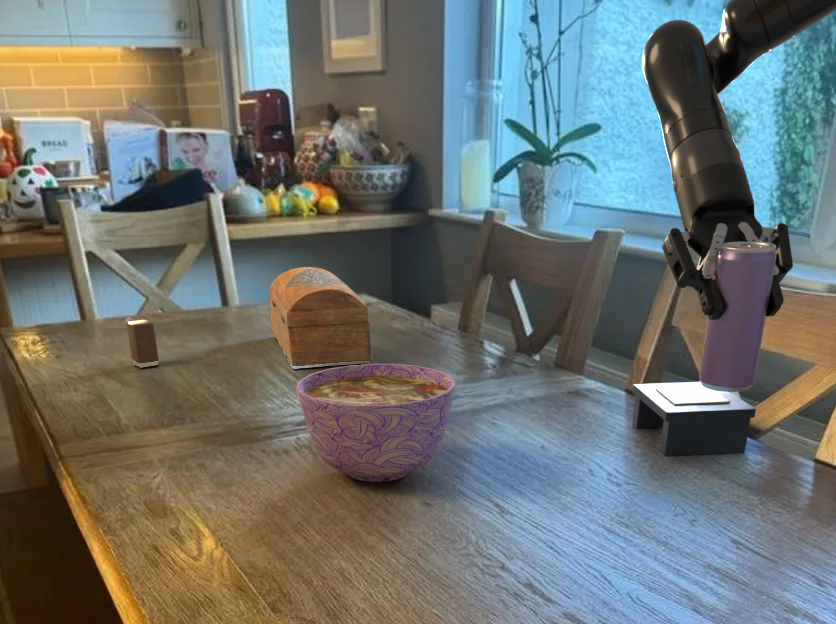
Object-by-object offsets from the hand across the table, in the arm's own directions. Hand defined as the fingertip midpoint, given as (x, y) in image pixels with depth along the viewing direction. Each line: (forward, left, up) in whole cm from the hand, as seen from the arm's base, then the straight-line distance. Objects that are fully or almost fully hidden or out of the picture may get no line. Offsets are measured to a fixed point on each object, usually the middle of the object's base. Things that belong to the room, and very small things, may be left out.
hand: (745, 313), depth 97 cm
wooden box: (+46, -84, -22) cm, 99 cm away
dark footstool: (-5, -22, -21) cm, 31 cm away
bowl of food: (+39, -14, -22) cm, 47 cm away
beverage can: (0, -2, -8) cm, 9 cm away
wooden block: (+79, -76, -22) cm, 112 cm away
